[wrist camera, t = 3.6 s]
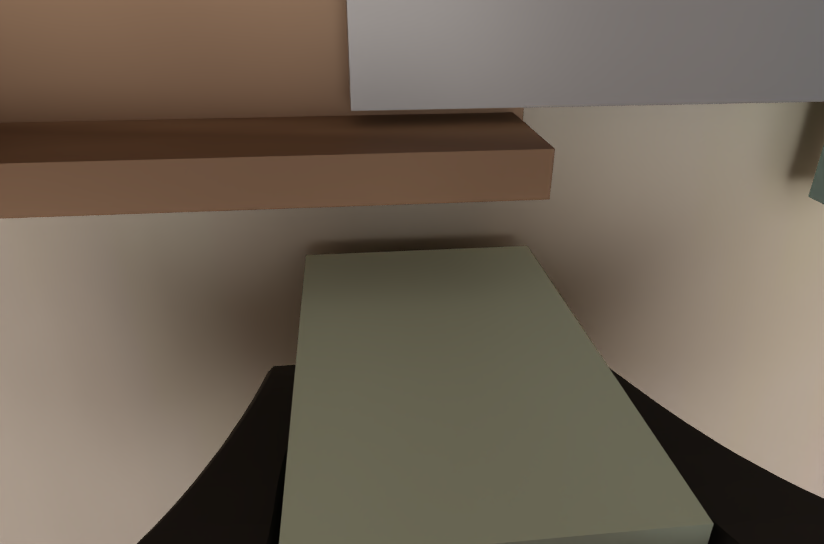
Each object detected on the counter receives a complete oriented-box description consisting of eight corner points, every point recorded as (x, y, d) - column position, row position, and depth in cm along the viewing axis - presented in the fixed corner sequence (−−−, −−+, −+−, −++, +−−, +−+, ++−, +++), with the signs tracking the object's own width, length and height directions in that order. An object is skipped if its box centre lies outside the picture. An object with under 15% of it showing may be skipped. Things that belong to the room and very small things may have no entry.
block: (510, 419, 15) (641, 760, 8) (319, 432, 14) (309, 803, 8) (527, 245, 13) (713, 522, 6) (305, 255, 12) (277, 563, 6)
